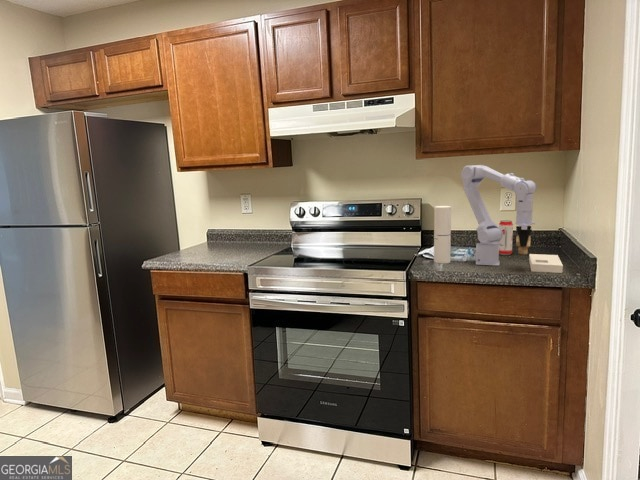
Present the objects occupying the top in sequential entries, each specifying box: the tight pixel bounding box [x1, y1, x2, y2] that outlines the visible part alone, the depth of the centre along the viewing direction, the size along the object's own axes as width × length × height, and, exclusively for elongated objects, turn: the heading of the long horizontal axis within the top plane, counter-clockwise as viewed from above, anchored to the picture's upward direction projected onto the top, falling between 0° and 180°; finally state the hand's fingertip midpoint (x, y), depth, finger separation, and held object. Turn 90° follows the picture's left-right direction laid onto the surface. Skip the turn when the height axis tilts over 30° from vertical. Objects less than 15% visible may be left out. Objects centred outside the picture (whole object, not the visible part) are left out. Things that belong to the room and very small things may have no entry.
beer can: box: [498, 219, 514, 256], centre depth 205 cm, size 6×6×16 cm
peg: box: [515, 235, 531, 255], centre depth 174 cm, size 5×5×7 cm
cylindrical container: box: [433, 205, 452, 264], centre depth 193 cm, size 7×7×25 cm
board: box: [528, 253, 564, 274], centre depth 180 cm, size 11×20×3 cm, turn 157°
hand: (523, 244), depth 174 cm, fingers closed on peg, 5 cm apart
